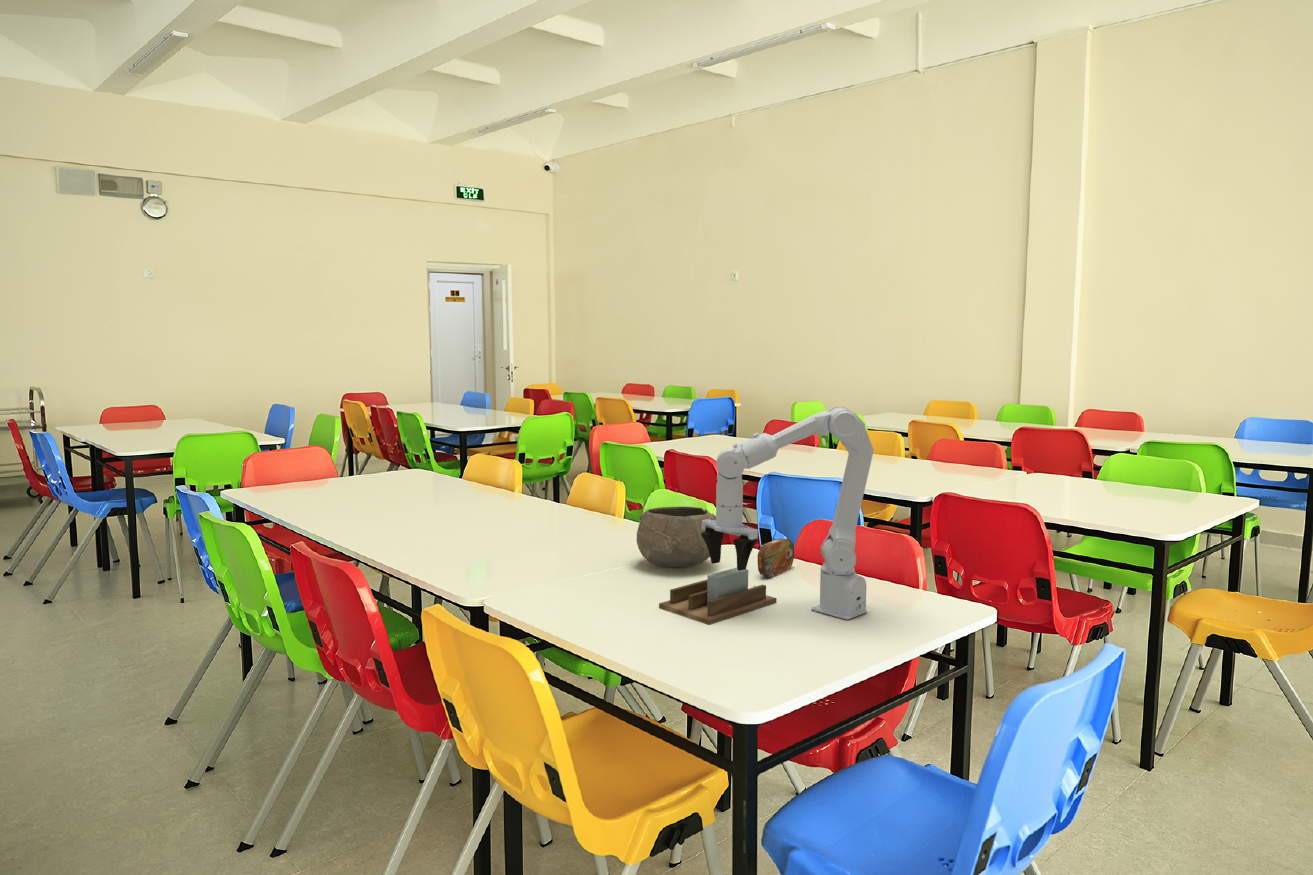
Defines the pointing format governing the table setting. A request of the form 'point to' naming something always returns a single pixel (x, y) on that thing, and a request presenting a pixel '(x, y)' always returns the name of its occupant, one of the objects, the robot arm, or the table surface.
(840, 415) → the robot arm
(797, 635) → the table surface
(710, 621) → the rack
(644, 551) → the clay pot
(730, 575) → the grey stone cuboid
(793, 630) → the table surface
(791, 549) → the tin
